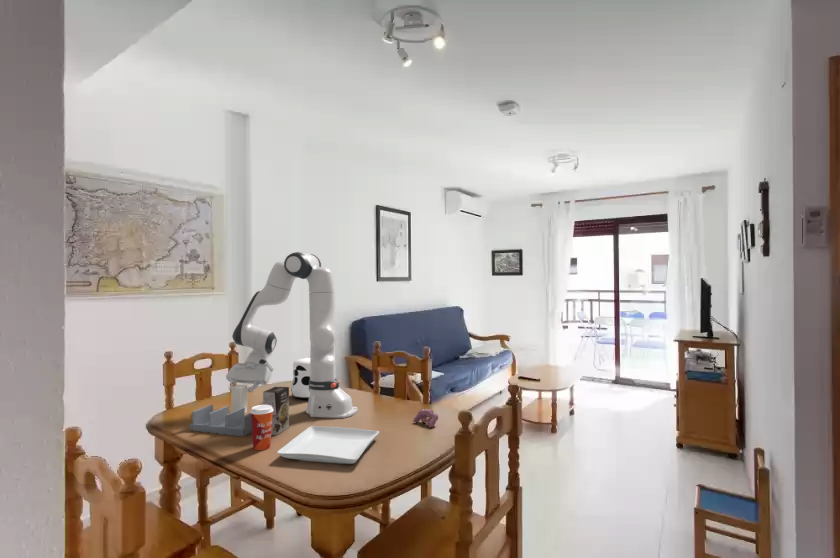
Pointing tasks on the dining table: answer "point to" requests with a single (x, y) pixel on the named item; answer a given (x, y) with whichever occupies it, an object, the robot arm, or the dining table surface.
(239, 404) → the cream block
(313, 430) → the square plate
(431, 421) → the purple arched piece
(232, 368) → the robot arm
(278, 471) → the dining table surface
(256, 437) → the paper cup
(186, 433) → the dining table surface
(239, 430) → the rack
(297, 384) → the milk container
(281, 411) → the coffee box
